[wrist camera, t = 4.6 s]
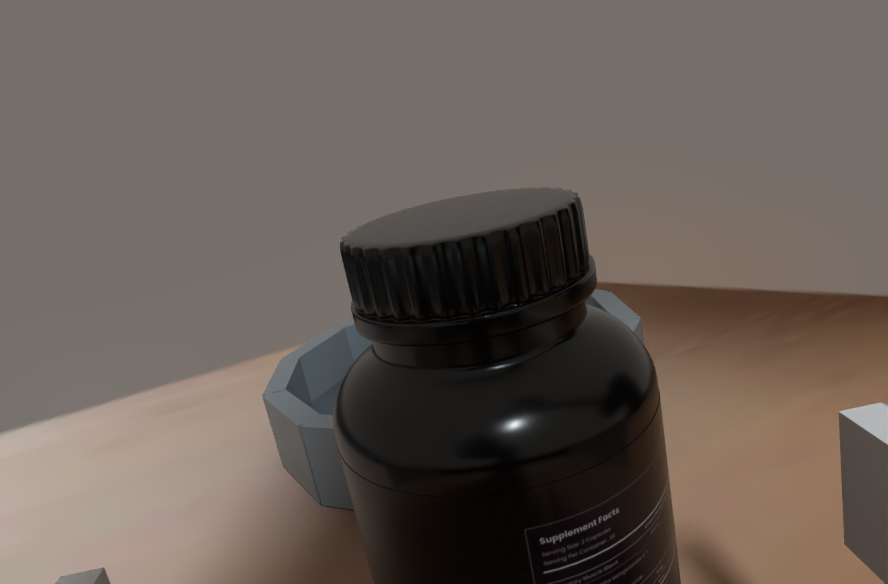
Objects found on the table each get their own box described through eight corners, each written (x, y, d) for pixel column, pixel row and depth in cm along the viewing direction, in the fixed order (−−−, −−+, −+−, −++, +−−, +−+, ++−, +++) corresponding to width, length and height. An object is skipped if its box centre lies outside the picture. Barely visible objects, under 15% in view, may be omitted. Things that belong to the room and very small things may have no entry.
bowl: (671, 337, 35) (664, 274, 34) (587, 541, 21) (571, 444, 20) (401, 341, 44) (389, 290, 43) (210, 490, 29) (186, 418, 28)
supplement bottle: (358, 707, 17) (226, 253, 14) (535, 558, 21) (464, 181, 18) (572, 924, 12) (437, 272, 9) (752, 669, 16) (707, 163, 13)
